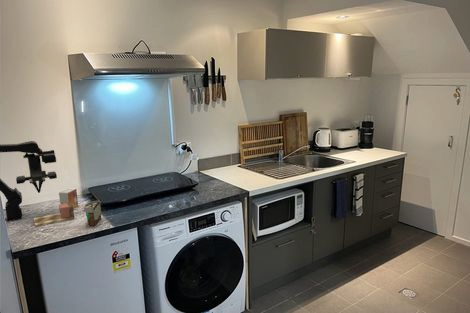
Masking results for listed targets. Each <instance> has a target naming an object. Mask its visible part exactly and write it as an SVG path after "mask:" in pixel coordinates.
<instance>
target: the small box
mask: <svg viewBox="0 0 470 313" xmlns="http://www.w3.org/2000/svg"><path fill="white" fill-rule="evenodd" d="M58 196H59V202H60V204H66V203H68V202H71V203H72V205H73V209H75V208H77V207H79V200H78V193H77V188H66V189H64V190H63V191H60V192H59V193H58ZM60 204H59V205H60Z"/></svg>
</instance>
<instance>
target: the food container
mask: <svg viewBox="0 0 470 313" xmlns="http://www.w3.org/2000/svg"><path fill="white" fill-rule="evenodd" d="M101 204H102V203H101V200H93V201H90V202H88V203H86V204H84V207H83V211H84V212H85V214H86V219H87V225H88V226H89V227H92V226H94V227H95V226H96V225H97V226H98V224H99V223H100V222H101V221H102V210H101V207H102V206H101ZM97 226H96V227H97Z"/></svg>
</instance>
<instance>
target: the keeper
mask: <svg viewBox="0 0 470 313" xmlns="http://www.w3.org/2000/svg"><path fill="white" fill-rule="evenodd" d="M58 208H59V213H61V218H66V217H70V214H69V207H68V204H67V203H66V204H58Z"/></svg>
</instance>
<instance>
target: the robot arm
mask: <svg viewBox="0 0 470 313" xmlns="http://www.w3.org/2000/svg"><path fill="white" fill-rule="evenodd" d="M15 152H18V153H24V155H23V156H22V157H23V159H27V162H28V163H27V164H28V169H29V176H25V175H19V176H16V179H15V181H16V184H17V185H18V184H19V185H20V184H25V182H26V181H29V184H31V185H33V186H34V188H35V189H36V191H37V193H38V194H40V193H41V190H42V185H43V183H44V182H46V178H49V179H50V180H53V179H54V180H55V179H57V176H58V175H57V173H56V171H47V172H46V170H43V168H42V163H44V165H45V164H53V163H57V158H56V157H57V156H56V153H55V150H54V149H51V150H45V151H43V149H41V148H40V147H39V145H38V143H37V142H36V141H33V140H31V141H29V140H28V141H24V142H21V143H11V144H10V143H8V144H6V143H5V144H4V143H3V144H0V153H15ZM37 182H38V183H37ZM0 192H1V193H2V194H3V195H4V197H5V198H6V201H5V206H4V207H5V208H4V209H5V215H6V222H13V221H17V220H22V217H23V212H22V211H23V210H22V207H20V205H21V204H22V202H23V195H22V192H21V191H20V190H18V188H17V187H14V188H11V187H10V186H9V185H8V184H7V183H6V182H4V181H3V180H2V179H1V178H0Z"/></svg>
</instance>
